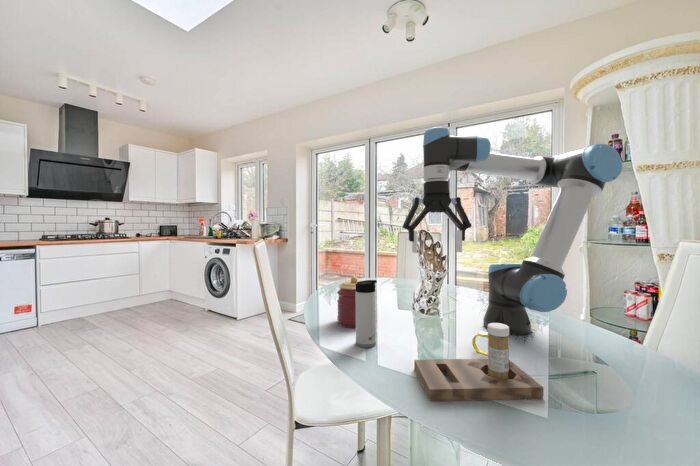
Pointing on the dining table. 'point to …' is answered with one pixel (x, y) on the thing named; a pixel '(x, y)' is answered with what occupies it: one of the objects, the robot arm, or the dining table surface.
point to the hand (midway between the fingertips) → (436, 252)
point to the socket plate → (473, 381)
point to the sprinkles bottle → (498, 350)
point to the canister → (347, 303)
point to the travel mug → (365, 313)
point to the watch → (482, 334)
